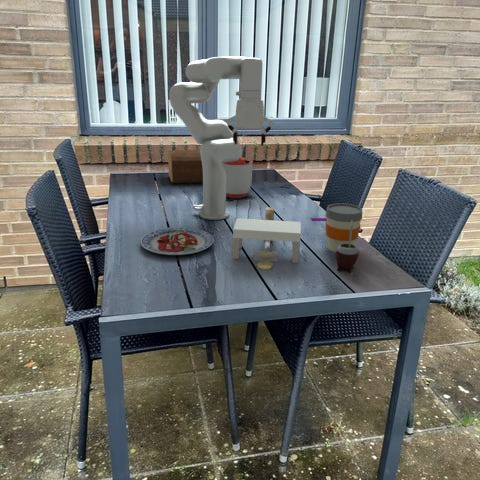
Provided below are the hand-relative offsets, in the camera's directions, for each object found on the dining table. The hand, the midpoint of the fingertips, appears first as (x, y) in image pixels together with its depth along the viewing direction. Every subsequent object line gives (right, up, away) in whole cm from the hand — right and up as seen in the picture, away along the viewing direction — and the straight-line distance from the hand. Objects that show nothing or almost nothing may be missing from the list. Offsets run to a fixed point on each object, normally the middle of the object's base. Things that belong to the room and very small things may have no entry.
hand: (249, 144), depth 171 cm
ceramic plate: (-26, -37, -3) cm, 45 cm away
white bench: (+6, -40, -9) cm, 41 cm away
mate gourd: (+31, -44, -18) cm, 57 cm away
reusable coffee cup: (+33, -38, -3) cm, 50 cm away
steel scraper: (+6, -38, -5) cm, 39 cm away
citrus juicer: (-5, -13, +57) cm, 58 cm away
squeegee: (+32, -28, +25) cm, 49 cm away
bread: (-26, -2, +84) cm, 88 cm away
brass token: (+5, -44, -18) cm, 48 cm away
